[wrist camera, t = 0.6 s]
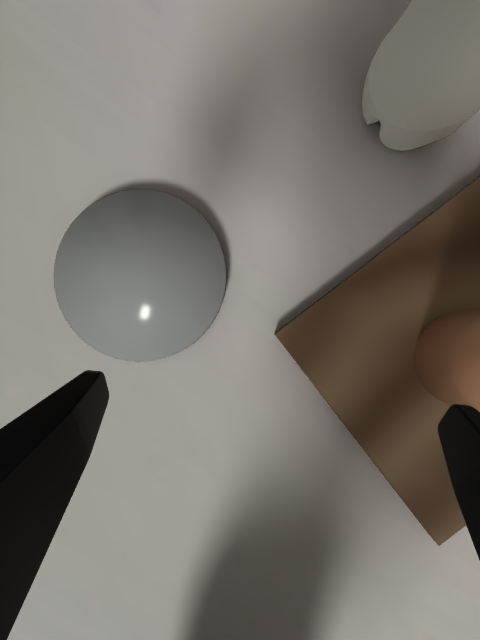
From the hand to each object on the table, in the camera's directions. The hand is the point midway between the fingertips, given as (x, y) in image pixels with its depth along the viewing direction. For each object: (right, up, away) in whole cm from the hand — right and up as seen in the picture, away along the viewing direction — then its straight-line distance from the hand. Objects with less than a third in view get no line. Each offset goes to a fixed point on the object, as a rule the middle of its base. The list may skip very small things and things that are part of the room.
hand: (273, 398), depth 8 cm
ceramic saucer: (-8, +5, +15) cm, 17 cm away
